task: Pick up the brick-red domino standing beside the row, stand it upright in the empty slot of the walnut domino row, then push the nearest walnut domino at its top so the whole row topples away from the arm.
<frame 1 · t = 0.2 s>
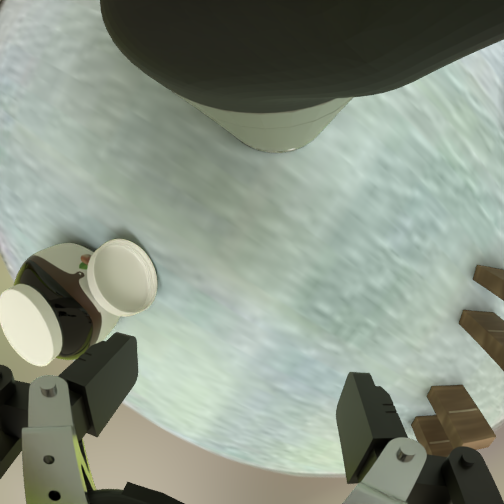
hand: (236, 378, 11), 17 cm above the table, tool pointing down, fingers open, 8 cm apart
domino 4: (445, 390, 29), on the table
spread jar: (107, 274, 30), on the table
domino 2: (476, 317, 27), on the table
domino 1: (490, 274, 25), on the table
domino 5: (429, 419, 31), on the table
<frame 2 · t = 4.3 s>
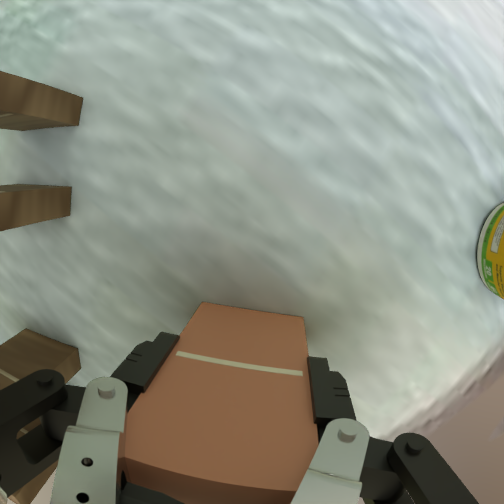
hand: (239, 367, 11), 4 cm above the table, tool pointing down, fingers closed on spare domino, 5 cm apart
domino 4: (51, 348, 17), on the table
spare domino: (250, 324, 15), on the table, touching gripper
domino 2: (40, 198, 15), on the table
domino 1: (49, 114, 14), on the table
domino 5: (64, 401, 18), on the table
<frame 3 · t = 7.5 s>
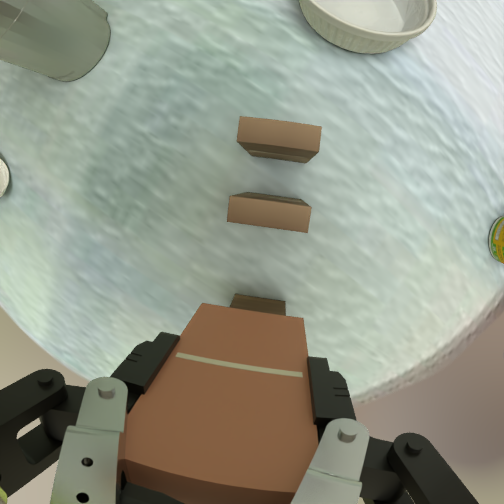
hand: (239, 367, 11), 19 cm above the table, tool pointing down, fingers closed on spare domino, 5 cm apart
domino 4: (259, 305, 31), on the table
supplement bottle: (502, 238, 27), on the table
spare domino: (250, 325, 15), point 15 cm above the table, touching gripper
domino 2: (273, 204, 29), on the table
domino 1: (280, 151, 27), on the table
ramekin: (354, 13, 24), on the table
when the fingers open (5 cm above the table, at t = 10.8 s): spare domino stays where it is, on the table.
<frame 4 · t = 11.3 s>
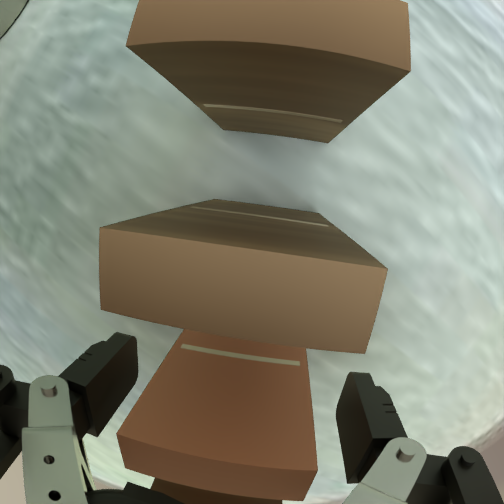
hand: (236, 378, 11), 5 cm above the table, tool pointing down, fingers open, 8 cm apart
domino 4: (240, 392, 17), on the table
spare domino: (250, 319, 16), on the table
domino 2: (264, 222, 15), on the table
domino 1: (277, 119, 14), on the table
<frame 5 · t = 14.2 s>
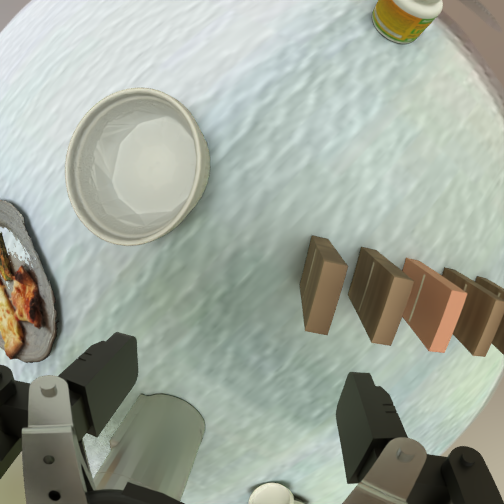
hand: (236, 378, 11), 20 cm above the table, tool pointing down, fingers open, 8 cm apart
domino 4: (443, 290, 29), on the table
supplement bottle: (394, 25, 23), on the table
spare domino: (405, 282, 29), on the table
spread jar: (276, 497, 39), on the table
domino 2: (362, 272, 29), on the table
domino 1: (313, 262, 30), on the table
domino 5: (474, 297, 28), on the table
food plate: (9, 282, 36), on the table
ramekin: (157, 168, 30), on the table
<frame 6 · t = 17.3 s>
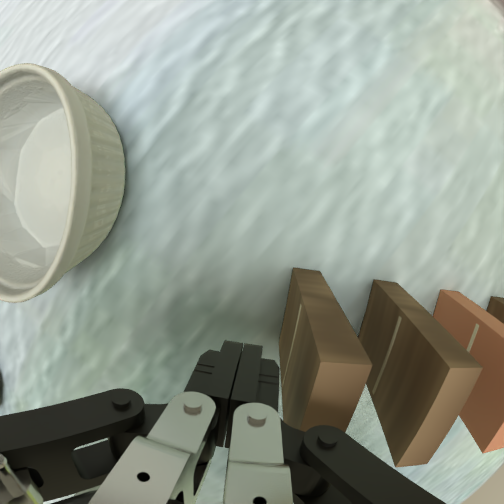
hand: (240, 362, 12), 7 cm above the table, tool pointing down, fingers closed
domino 4: (487, 328, 18), on the table
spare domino: (439, 325, 18), on the table
domino 2: (375, 318, 18), on the table
domino 1: (298, 308, 18), on the table, touching gripper
ramekin: (64, 179, 18), on the table
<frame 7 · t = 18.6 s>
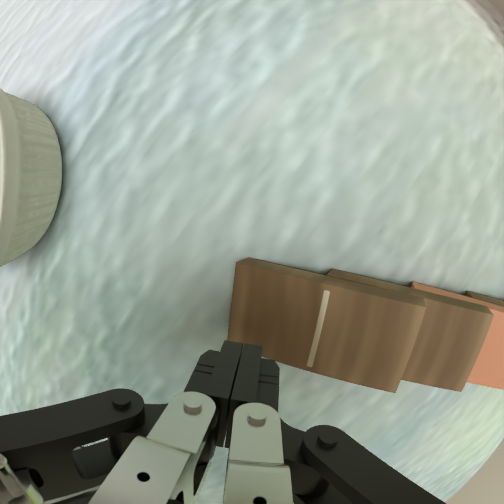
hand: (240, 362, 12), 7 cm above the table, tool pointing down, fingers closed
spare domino: (401, 322, 17), point 1 cm above the table, tilted 71°, touching domino 2, domino 4
domino 2: (320, 312, 18), point 1 cm above the table, tilted 71°, touching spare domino
domino 1: (237, 301, 18), point 1 cm above the table, tilted 71°
ramekin: (20, 178, 19), on the table
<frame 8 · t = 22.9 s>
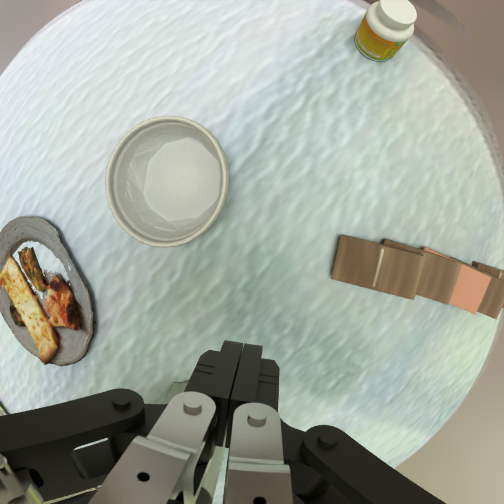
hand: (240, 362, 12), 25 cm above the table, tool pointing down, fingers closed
domino 4: (445, 275, 34), point 1 cm above the table, tilted 72°, touching domino 5, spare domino
supplement bottle: (374, 44, 30), on the table
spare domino: (417, 266, 34), point 1 cm above the table, tilted 70°, touching domino 2, domino 4
domino 2: (379, 259, 34), point 1 cm above the table, tilted 70°, touching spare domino
domino 1: (336, 256, 35), point 1 cm above the table, tilted 71°
domino 5: (469, 279, 34), point 1 cm above the table, tilted 90°, touching domino 4
food plate: (41, 292, 42), on the table
ramekin: (182, 181, 36), on the table
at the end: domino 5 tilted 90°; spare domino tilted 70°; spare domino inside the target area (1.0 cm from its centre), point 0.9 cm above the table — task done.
